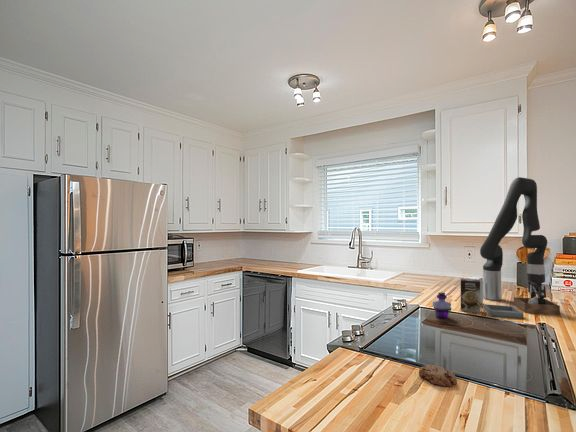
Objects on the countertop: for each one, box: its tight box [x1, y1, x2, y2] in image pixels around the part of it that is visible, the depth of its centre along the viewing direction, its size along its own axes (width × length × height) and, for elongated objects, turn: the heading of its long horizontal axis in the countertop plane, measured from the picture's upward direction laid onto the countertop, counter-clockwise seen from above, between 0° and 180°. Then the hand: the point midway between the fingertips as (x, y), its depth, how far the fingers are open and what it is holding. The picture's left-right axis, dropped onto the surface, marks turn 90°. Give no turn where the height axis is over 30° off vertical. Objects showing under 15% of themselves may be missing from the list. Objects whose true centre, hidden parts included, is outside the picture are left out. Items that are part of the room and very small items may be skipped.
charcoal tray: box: [482, 303, 524, 319], centre depth 162 cm, size 14×14×3 cm
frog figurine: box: [528, 296, 538, 304], centre depth 169 cm, size 6×7×7 cm
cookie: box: [418, 364, 458, 388], centre depth 96 cm, size 10×11×3 cm
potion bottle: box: [432, 291, 452, 320], centre depth 157 cm, size 9×9×12 cm
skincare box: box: [466, 275, 484, 305], centre depth 183 cm, size 8×6×15 cm
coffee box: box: [459, 278, 481, 314], centre depth 169 cm, size 9×6×16 cm
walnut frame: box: [513, 296, 561, 316], centre depth 169 cm, size 15×15×4 cm
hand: (537, 303), depth 169 cm, fingers open, 8 cm apart
